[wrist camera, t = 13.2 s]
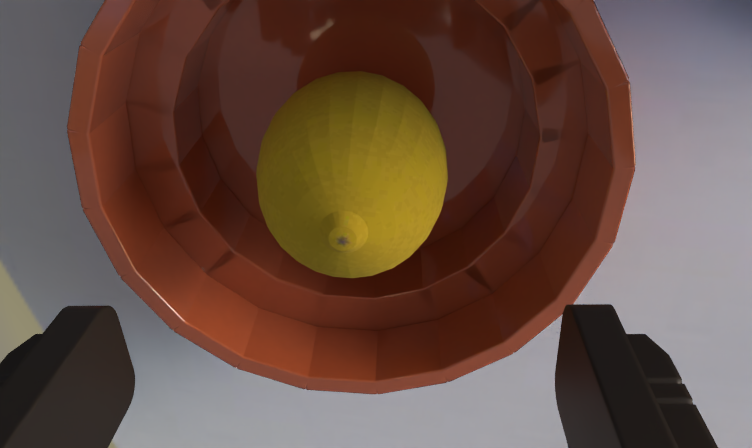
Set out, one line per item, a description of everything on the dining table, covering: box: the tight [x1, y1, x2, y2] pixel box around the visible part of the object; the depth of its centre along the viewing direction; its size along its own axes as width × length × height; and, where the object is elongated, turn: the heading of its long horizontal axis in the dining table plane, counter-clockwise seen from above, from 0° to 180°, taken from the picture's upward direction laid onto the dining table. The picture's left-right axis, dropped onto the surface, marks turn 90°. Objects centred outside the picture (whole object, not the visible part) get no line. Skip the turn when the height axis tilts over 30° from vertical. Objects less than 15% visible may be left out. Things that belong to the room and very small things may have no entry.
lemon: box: [256, 71, 448, 278], centre depth 19 cm, size 6×6×8 cm
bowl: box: [67, 0, 636, 394], centre depth 20 cm, size 15×15×6 cm
